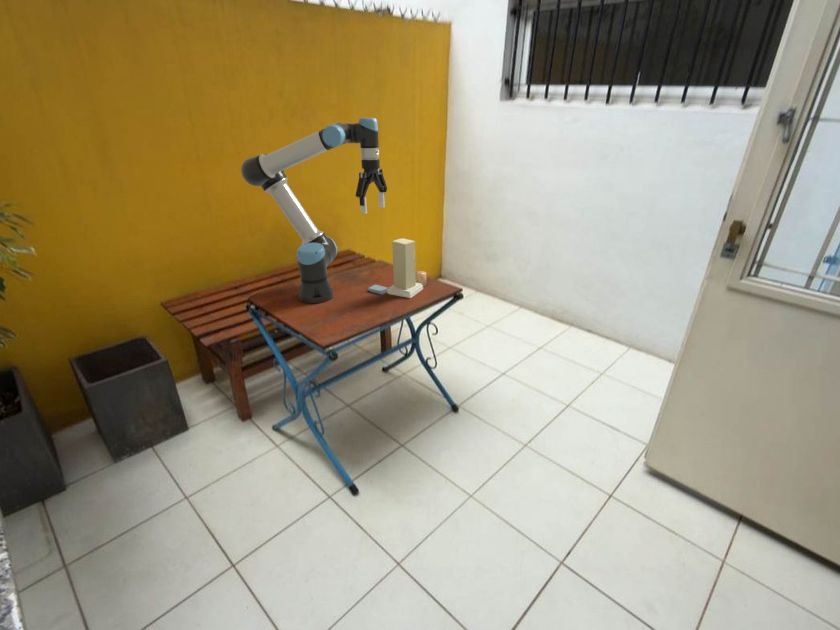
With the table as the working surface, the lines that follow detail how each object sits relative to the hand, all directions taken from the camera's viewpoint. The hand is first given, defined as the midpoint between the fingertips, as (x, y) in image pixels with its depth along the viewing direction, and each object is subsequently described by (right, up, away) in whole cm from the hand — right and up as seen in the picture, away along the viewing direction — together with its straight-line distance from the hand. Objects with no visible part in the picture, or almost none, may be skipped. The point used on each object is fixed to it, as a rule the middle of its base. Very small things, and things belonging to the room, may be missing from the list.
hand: (373, 210), depth 188 cm
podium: (+14, -35, +10) cm, 39 cm away
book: (+1, -35, +12) cm, 37 cm away
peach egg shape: (+21, -31, +17) cm, 42 cm away
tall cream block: (+14, -32, +9) cm, 36 cm away
